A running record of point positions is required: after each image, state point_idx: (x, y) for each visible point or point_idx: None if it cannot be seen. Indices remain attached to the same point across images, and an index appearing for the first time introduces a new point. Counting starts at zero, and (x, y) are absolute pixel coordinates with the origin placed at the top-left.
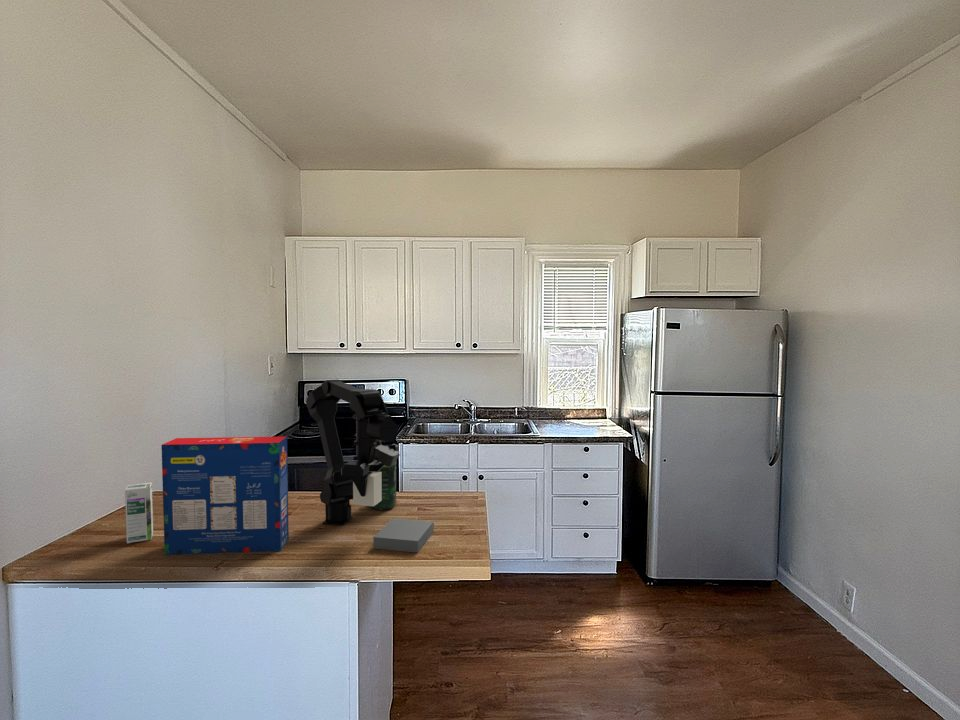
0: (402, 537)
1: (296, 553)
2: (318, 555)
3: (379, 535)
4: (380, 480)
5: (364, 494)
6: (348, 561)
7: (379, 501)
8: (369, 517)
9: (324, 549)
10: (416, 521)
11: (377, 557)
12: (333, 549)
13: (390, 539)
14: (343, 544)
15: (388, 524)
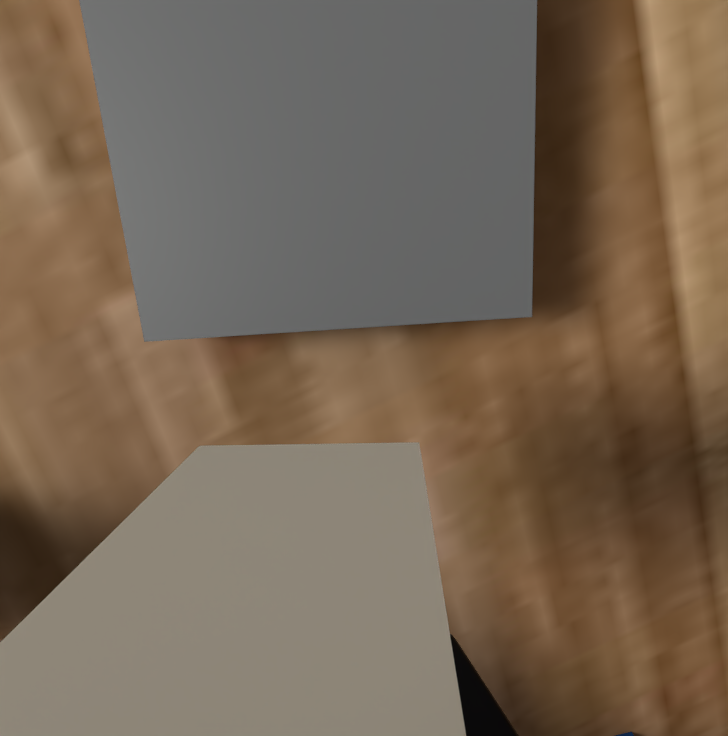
0: (490, 82)
1: (649, 657)
2: (657, 551)
3: (493, 287)
4: (28, 678)
5: (464, 658)
6: (714, 365)
7: (257, 448)
8: (80, 539)
9: (576, 559)
10: (132, 121)
11: (634, 220)
12: (567, 517)
13: (532, 174)
14: (490, 499)
15: (271, 319)
